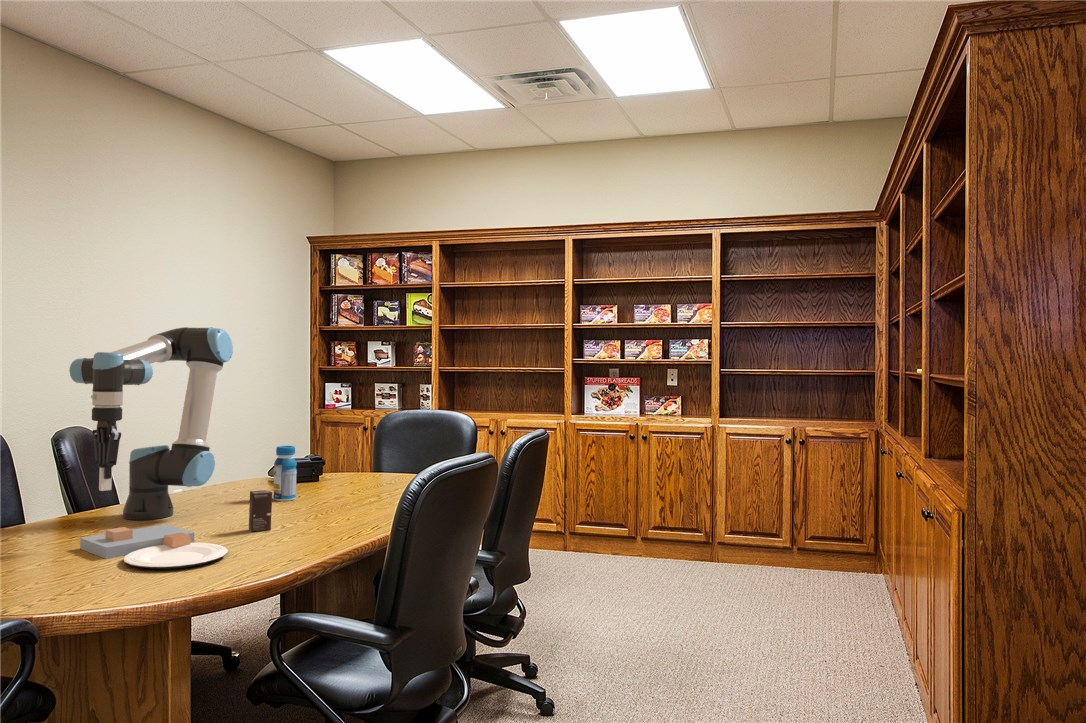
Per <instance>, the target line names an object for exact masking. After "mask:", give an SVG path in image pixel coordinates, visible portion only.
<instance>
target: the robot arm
mask: <svg viewBox="0 0 1086 723" xmlns="http://www.w3.org/2000/svg"><path fill="white" fill-rule="evenodd" d="M233 352H234V346H233V341H232V339H231V336H230V334H229V333H228V332H227V331H226V330H225V329H224V328H218V327H186V326H185V327H184V326H183V327H178V328H173V329H170V330H169V329H168V330H166V331H163V332H159V333H156V334H154V335H153V334H152V335H151V336H150V337H148V338H147V340H145V341H142V342H139V343H135V344H133V345H129V346H126V347H123V348H120V349H118V350H114V351H110V352H109V351H107V352H105V351H104V352H102V351H99V352H98V351H97V352H95V353H94V354H93V357H89V358H87V357H83V358H82V357H81V358H76V359H74V360H73V361H72V362H71V363H70V366H69V375H70V378H71V380H72V381H73V382H74V383H77V384H85V385H90V384H91V385H92V393H91V394H92V395H91V396H90V398H91V401H92V403H91V404H92V406H94V407H92V408H91V420H92V421H93V422H97V424H96V429H92V431H91V433H92V437H93V448H94V460H95V464H97V465H98V468H99V473H98V474H99V475H98V477H99V478H98V480H99V481H98V491H100V492H104V491H112V483H113V482H112V481H113V467H114V466H116V465H117V463H118V462H117V461H118V455H119V446H120V442H121V441H120V440H121V437H122V432H118V426H117V425H118V424H117V421H118V422H119V421H122V419H123V408H122V407H121V406H122V405H124V404H123V402H124V389H123V387H124V386H140V385H145V384H147V383H149V382H150V381H151V380H152V377H153V375H154V368H153V366H152V364H154V363H159V364H160V363H165V362H170V361H171V362H172V361H177V362H178V361H179V362H180V361H183V362H186V363H185V365H186V366H187V367H188V369H189V373H188V378H187V379H188V380H187V384H186V390H185V396H184V401H183V408H182V414H181V420H180V426H179V432H178V438H177V439H176V440H175V441H173V442H172V443H171V448H170V445H168V444H163V445H153V446H146V447H138V448H134V449H132V450H131V451H130V455H129V461H128V464H129V469H128V470H129V474H128V475H129V476H128V477H129V478H128V479H129V483H128V487H129V489H128V496H127V498H126V502H125V504H124V506H123V509H122V518H123V519H125V520H131V521H145V520H146V521H147V520H157V519H164V518H168V517H172V516H173V515H174V505H173V502H172V500H171V497H170V493H169V486H175V487H187V488H192V487H201V486H203V485H205V484H206V483H207V482H209V480H210V479H211V477H212V476H213V473H214V470H215V467H216V461H215V455H214V454H213V453H212V452H211V451H210V449H211V446H210V445H209V444H208V443H207V437H208V432H209V431H208V430H209V424H210V417H211V414H212V406H213V401H214V394H215V393H214V392H215V387H216V381H217V377H218V372H220V371H222V370H223V369H224V368H223V367H224V363H227V362H229V361H230V360H231V359H232V357H233Z"/></svg>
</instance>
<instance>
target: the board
mask: <svg viewBox="0 0 1086 723" xmlns="http://www.w3.org/2000/svg"><path fill="white" fill-rule="evenodd" d="M132 530H133V539H128V540H122V541H116V542H113V541H110V540H107V539H105V536H106V533H105V534H103V533H102V534H96V535H91V536H90V535H89V536H85V537H80V538H79V540H80V541H79V542H80V544H79V545H80V546H79V549H80V550H82V551H84V552H87V553H90V554H93V555H95V556H98V557H100V558H103V559H105V560H107V559H113V558H114V559H115V558H118V557H119V558H120V557H125V556H126V555H128V554H129V553H131V552H134V551H137V550H139V549H143V548H148V547H152V546H158V545H164V535H169V534H175V533H181V532H182V533H185V534H188V535H191V542H190V543H195V532H194V531H192V530H191V531H190V530H187V529H184V528H179V527H176V526H173V525H171V524H170V525H169V524H160V525H154V526H149V527H141V528H136V529H132Z"/></svg>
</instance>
